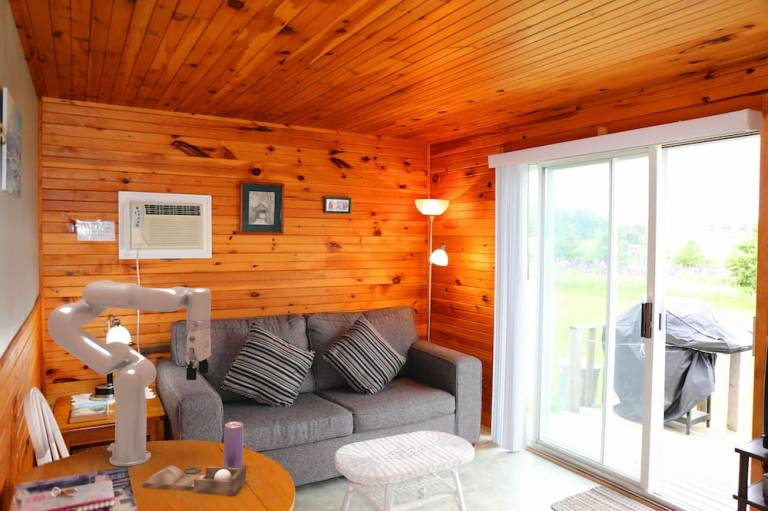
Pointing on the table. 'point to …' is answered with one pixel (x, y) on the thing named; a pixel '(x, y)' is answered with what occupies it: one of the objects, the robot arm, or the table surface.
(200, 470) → the grey piece
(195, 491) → the lane
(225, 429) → the beverage can
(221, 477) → the ball
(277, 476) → the table surface
